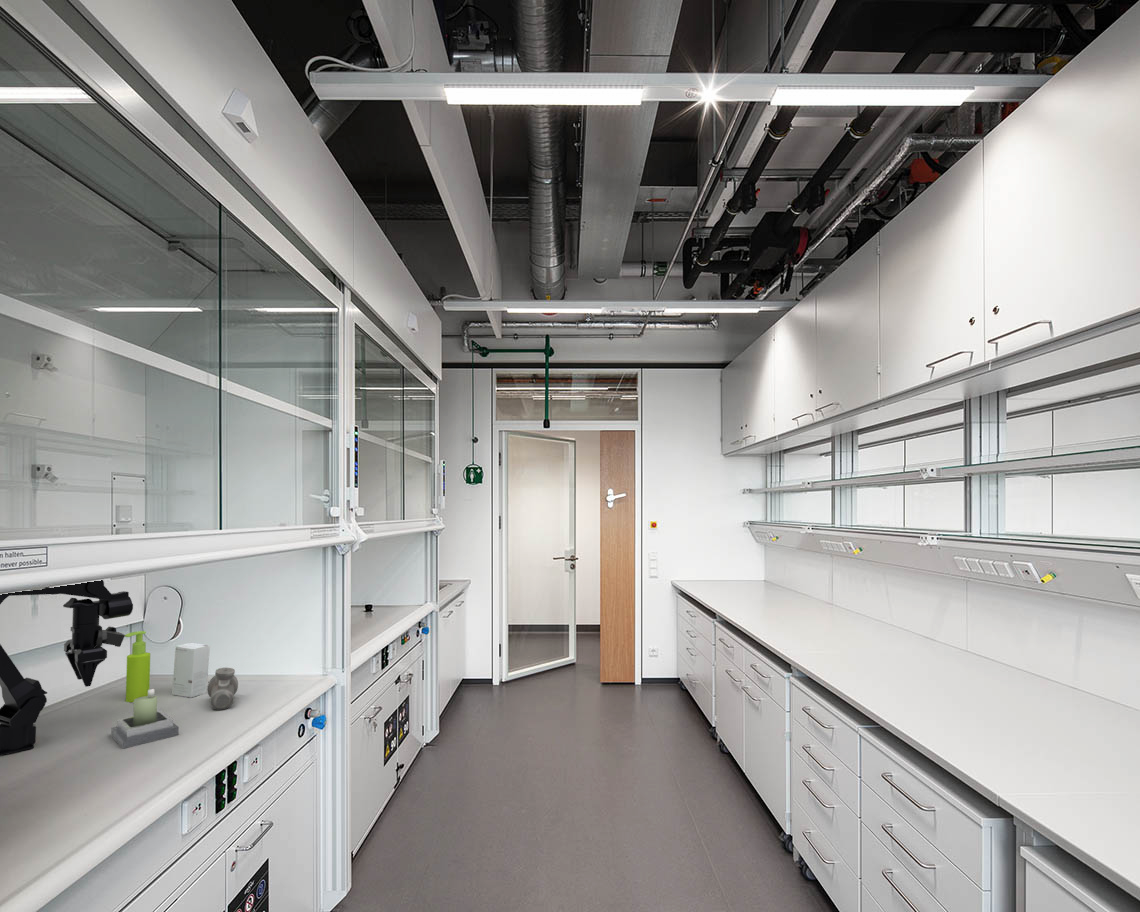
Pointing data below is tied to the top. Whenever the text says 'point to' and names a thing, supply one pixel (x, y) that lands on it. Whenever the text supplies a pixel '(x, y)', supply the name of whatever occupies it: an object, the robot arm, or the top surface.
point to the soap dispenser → (137, 669)
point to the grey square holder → (143, 730)
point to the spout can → (145, 709)
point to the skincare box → (190, 669)
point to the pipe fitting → (222, 688)
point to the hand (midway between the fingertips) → (84, 682)
